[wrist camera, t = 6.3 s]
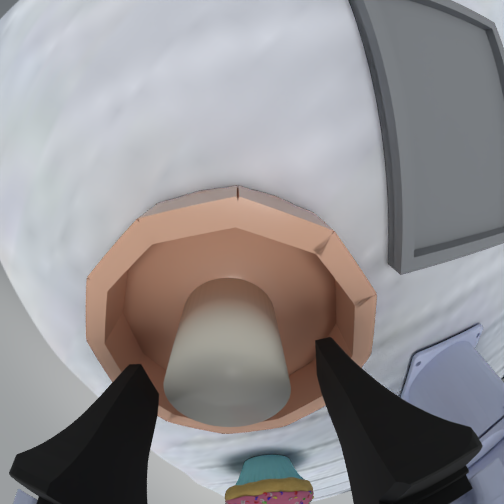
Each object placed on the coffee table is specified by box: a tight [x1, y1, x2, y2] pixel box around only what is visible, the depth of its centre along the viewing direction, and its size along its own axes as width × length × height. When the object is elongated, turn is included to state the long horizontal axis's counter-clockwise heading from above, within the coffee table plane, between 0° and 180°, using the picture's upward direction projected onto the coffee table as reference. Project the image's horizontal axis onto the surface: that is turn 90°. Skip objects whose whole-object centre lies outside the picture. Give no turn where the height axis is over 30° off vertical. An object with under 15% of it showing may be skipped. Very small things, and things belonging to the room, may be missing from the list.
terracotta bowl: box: [86, 185, 377, 434], centre depth 13 cm, size 13×13×4 cm
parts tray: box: [349, 0, 504, 275], centre depth 10 cm, size 16×12×1 cm
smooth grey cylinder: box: [163, 278, 291, 427], centre depth 11 cm, size 5×5×5 cm
